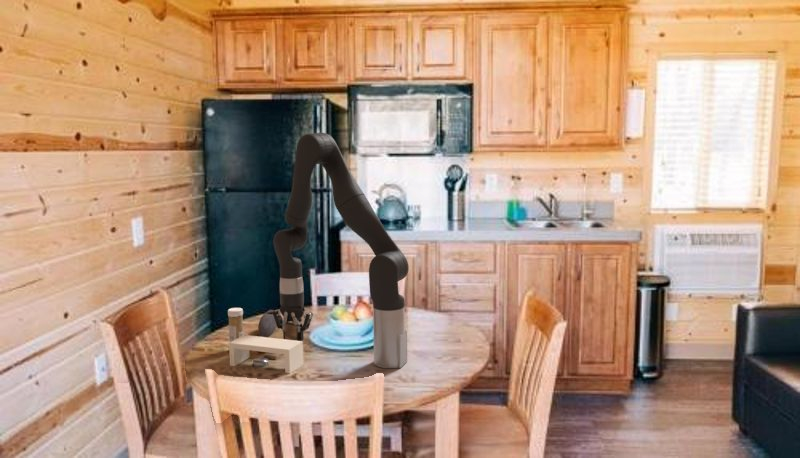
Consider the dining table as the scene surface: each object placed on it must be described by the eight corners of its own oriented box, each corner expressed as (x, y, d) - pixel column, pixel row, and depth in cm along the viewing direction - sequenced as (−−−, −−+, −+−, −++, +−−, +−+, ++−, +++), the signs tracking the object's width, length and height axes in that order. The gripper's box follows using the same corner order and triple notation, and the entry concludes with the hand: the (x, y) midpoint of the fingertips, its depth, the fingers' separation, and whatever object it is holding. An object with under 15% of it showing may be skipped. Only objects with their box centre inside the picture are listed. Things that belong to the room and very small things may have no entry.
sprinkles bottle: (246, 350, 198) (244, 309, 196) (232, 353, 196) (230, 311, 194) (241, 347, 202) (239, 306, 200) (227, 349, 199) (225, 308, 198)
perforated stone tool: (268, 341, 208) (267, 320, 207) (252, 340, 208) (252, 320, 208) (281, 327, 223) (280, 308, 222) (266, 327, 223) (265, 308, 222)
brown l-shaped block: (302, 342, 206) (301, 322, 205) (276, 359, 190) (275, 337, 189) (290, 341, 207) (290, 320, 206) (263, 357, 192) (262, 335, 191)
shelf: (303, 364, 186) (302, 341, 185) (290, 373, 178) (289, 349, 178) (245, 356, 193) (244, 334, 192) (230, 365, 185) (228, 342, 184)
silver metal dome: (271, 363, 187) (271, 358, 187) (263, 368, 183) (263, 363, 183) (258, 361, 189) (258, 357, 189) (250, 366, 185) (250, 362, 185)
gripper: (316, 289, 203) (318, 340, 205) (278, 286, 208) (280, 336, 210) (305, 294, 196) (307, 347, 198) (266, 291, 201) (268, 343, 203)
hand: (293, 341), depth 204 cm, fingers closed on brown l-shaped block, 4 cm apart
